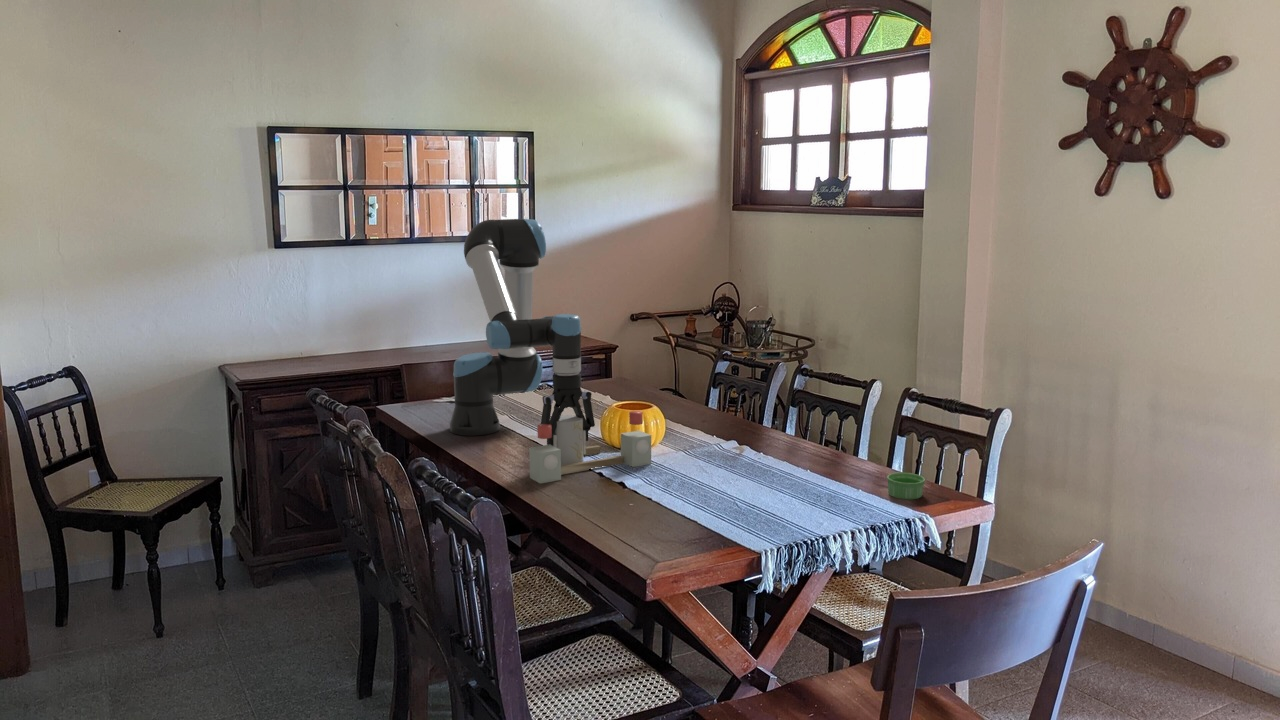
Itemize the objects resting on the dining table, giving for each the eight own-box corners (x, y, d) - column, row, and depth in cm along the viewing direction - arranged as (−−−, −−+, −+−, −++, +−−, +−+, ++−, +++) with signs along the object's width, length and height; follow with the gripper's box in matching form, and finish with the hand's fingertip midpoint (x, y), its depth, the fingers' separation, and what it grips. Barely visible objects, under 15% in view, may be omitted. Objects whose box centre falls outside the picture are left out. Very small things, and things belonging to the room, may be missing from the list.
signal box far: (620, 461, 274) (620, 433, 272) (639, 458, 277) (639, 430, 276) (633, 467, 269) (632, 438, 267) (651, 464, 272) (651, 435, 270)
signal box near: (529, 477, 260) (529, 447, 258) (550, 474, 263) (550, 444, 261) (540, 483, 254) (540, 453, 253) (561, 480, 257) (561, 449, 256)
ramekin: (882, 489, 250) (883, 472, 250) (919, 489, 250) (920, 472, 249) (890, 500, 242) (891, 483, 241) (928, 500, 241) (929, 483, 240)
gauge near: (535, 436, 257) (534, 425, 257) (547, 434, 259) (547, 423, 259) (541, 439, 254) (541, 428, 254) (554, 437, 256) (553, 426, 256)
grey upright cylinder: (578, 467, 266) (578, 423, 264) (549, 465, 268) (548, 421, 266) (586, 458, 274) (586, 415, 272) (557, 457, 276) (557, 414, 273)
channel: (537, 462, 274) (536, 455, 273) (597, 452, 284) (597, 445, 283) (560, 474, 262) (560, 467, 262) (623, 463, 272) (623, 456, 272)
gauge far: (626, 422, 272) (626, 411, 271) (638, 421, 273) (638, 410, 273) (633, 425, 269) (633, 414, 268) (645, 423, 270) (645, 412, 270)
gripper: (537, 379, 258) (539, 464, 262) (608, 371, 269) (608, 453, 273) (525, 374, 264) (526, 458, 268) (594, 366, 275) (594, 446, 279)
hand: (568, 455), depth 271 cm, fingers closed on grey upright cylinder, 8 cm apart
